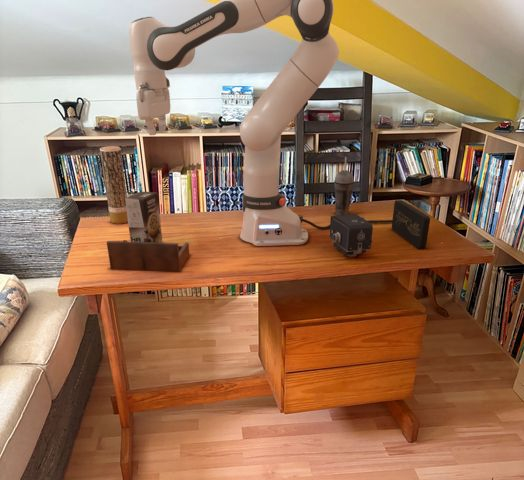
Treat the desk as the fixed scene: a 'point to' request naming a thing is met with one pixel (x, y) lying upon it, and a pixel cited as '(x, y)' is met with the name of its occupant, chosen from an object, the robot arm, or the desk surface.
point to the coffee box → (144, 217)
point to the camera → (351, 233)
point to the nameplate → (410, 224)
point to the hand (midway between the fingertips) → (157, 133)
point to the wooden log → (114, 183)
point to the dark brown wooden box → (147, 255)
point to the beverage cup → (343, 190)
